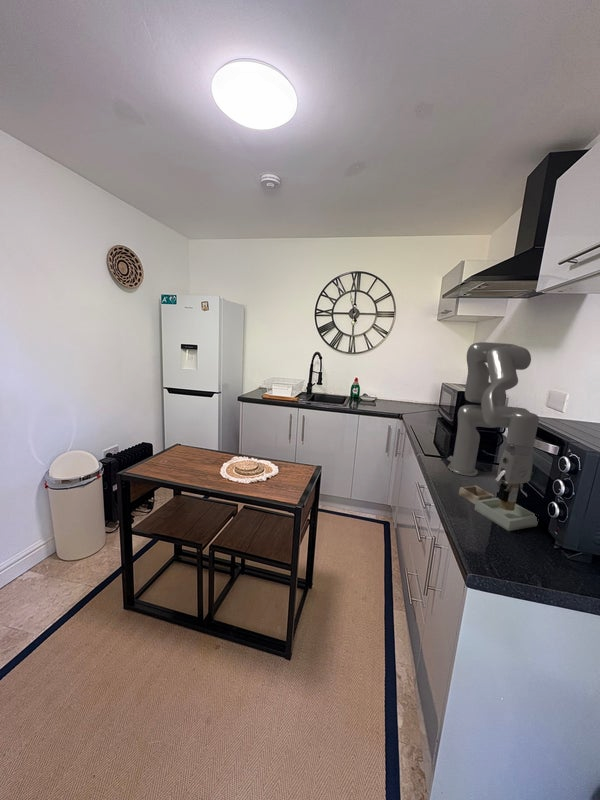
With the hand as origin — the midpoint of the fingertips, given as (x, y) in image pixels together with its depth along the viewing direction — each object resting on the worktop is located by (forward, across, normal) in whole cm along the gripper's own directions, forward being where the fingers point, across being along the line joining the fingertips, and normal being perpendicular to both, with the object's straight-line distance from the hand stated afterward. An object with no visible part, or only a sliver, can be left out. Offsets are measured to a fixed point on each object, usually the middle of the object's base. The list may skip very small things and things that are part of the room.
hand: (508, 499), depth 106 cm
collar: (+7, +1, +13) cm, 15 cm away
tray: (+7, 0, 0) cm, 7 cm away
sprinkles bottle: (+4, 0, 0) cm, 4 cm away
